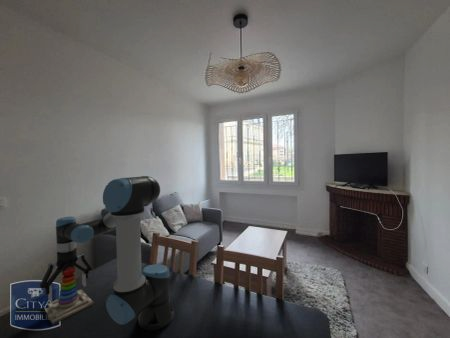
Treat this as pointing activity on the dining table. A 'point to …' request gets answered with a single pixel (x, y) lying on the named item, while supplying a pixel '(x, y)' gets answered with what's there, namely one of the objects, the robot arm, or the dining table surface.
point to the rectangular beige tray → (60, 314)
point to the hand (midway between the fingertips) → (68, 292)
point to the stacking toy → (68, 289)
